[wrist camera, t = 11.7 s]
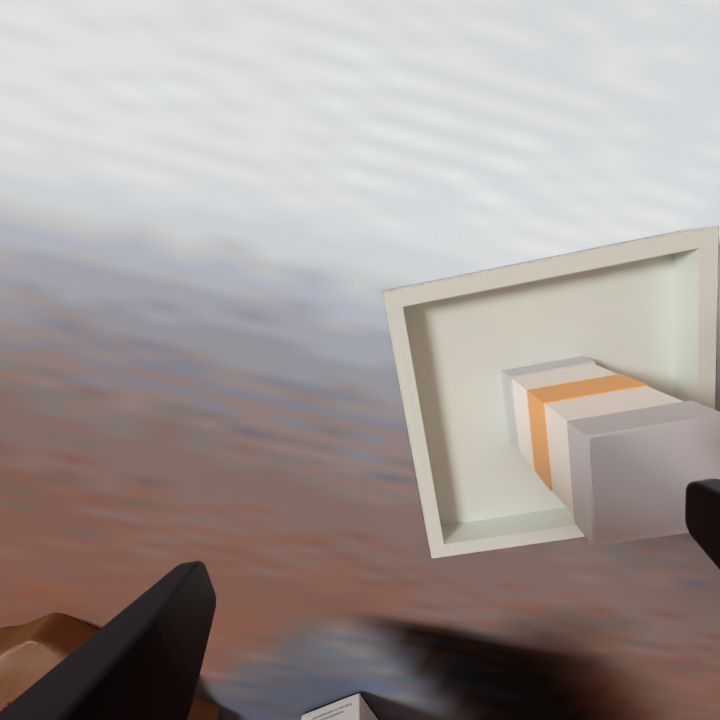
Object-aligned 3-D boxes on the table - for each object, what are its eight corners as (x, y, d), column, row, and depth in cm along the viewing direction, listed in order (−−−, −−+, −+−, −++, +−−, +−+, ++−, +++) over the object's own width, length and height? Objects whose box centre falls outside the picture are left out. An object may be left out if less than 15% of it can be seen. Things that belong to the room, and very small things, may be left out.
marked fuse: (586, 429, 20) (720, 528, 12) (509, 441, 20) (592, 546, 13) (582, 355, 19) (724, 413, 11) (500, 370, 20) (585, 435, 12)
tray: (681, 495, 21) (712, 518, 20) (426, 533, 23) (431, 558, 21) (681, 230, 18) (718, 225, 16) (381, 290, 19) (382, 293, 17)
